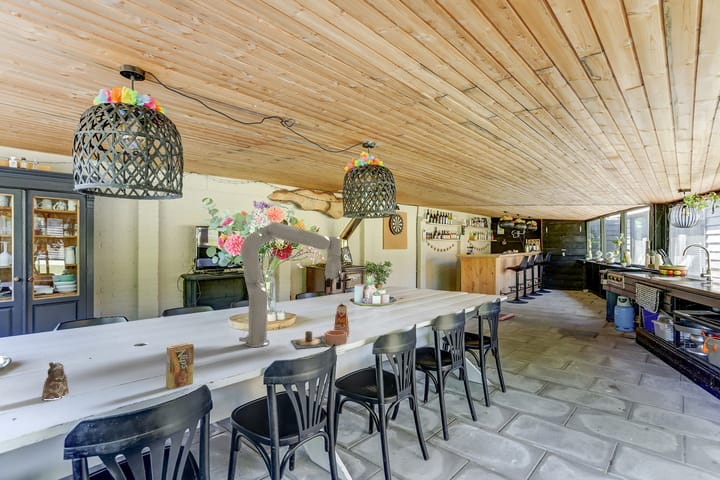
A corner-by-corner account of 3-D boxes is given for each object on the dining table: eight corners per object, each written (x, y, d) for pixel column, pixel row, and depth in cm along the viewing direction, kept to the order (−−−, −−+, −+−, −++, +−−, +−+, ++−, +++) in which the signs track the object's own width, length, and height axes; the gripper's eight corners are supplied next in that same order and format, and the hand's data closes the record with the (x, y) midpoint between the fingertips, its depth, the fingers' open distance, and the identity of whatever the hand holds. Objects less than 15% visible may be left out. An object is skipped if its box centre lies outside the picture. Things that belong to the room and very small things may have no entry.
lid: (299, 347, 194) (299, 335, 194) (294, 340, 206) (294, 330, 206) (323, 344, 199) (323, 333, 199) (317, 338, 211) (317, 328, 211)
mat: (297, 349, 192) (297, 348, 192) (291, 341, 207) (291, 340, 207) (327, 346, 198) (327, 345, 198) (319, 338, 213) (319, 337, 213)
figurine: (50, 402, 128) (50, 367, 128) (37, 399, 130) (37, 364, 130) (72, 394, 134) (73, 361, 134) (60, 391, 137) (60, 358, 137)
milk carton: (348, 336, 218) (349, 302, 218) (332, 336, 218) (333, 302, 218) (349, 332, 227) (350, 299, 227) (334, 332, 228) (334, 299, 227)
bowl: (328, 345, 199) (328, 336, 199) (322, 339, 210) (322, 331, 210) (349, 343, 204) (349, 334, 204) (342, 338, 215) (342, 329, 215)
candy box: (189, 380, 149) (189, 342, 149) (193, 383, 146) (194, 344, 146) (165, 386, 142) (166, 346, 142) (169, 390, 140) (170, 349, 139)
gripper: (319, 257, 218) (319, 287, 218) (337, 259, 205) (337, 290, 205) (330, 257, 223) (329, 286, 223) (348, 259, 210) (347, 289, 210)
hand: (333, 288), depth 214 cm, fingers open, 9 cm apart
